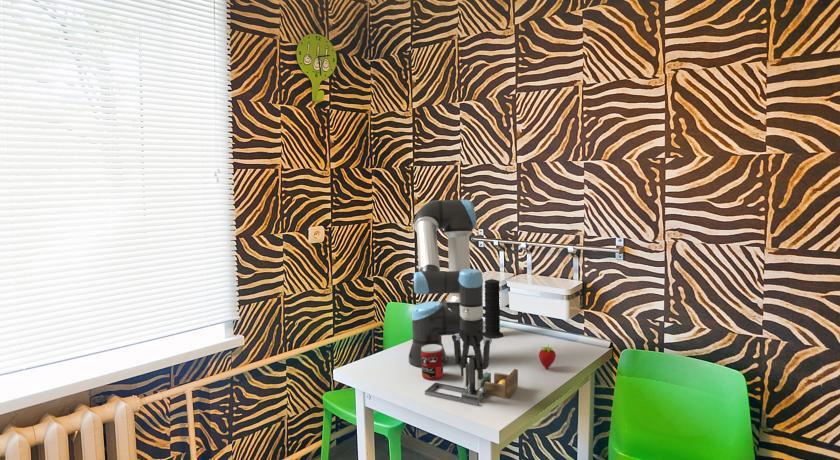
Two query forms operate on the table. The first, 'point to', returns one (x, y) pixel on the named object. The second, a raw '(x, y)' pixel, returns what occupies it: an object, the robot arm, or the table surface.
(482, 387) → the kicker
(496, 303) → the handle grip
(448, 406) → the table surface
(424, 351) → the canned food
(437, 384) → the rail
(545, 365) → the strawberry
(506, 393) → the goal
